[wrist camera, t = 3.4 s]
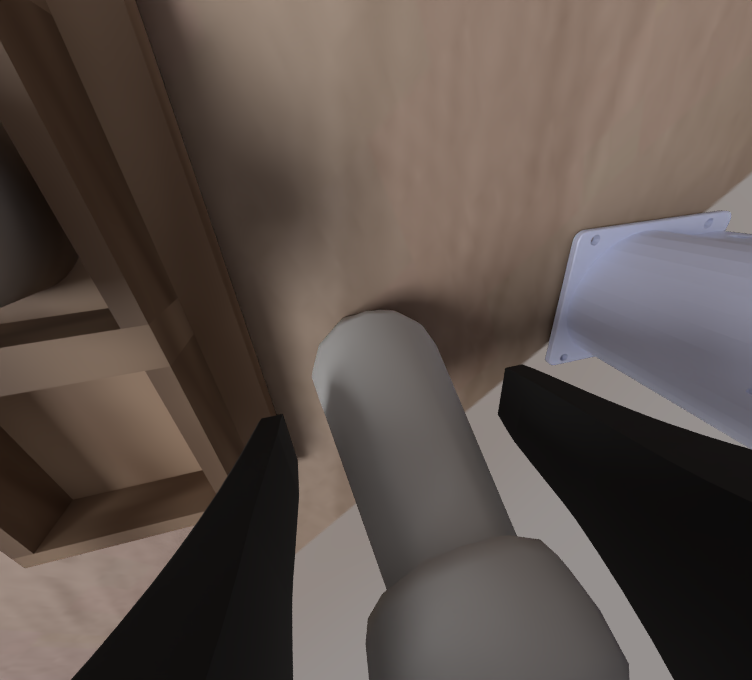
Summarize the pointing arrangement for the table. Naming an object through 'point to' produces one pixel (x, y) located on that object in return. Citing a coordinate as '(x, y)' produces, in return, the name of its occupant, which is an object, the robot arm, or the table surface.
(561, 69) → the table surface
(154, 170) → the wooden condiment caddy
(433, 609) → the salt shaker
